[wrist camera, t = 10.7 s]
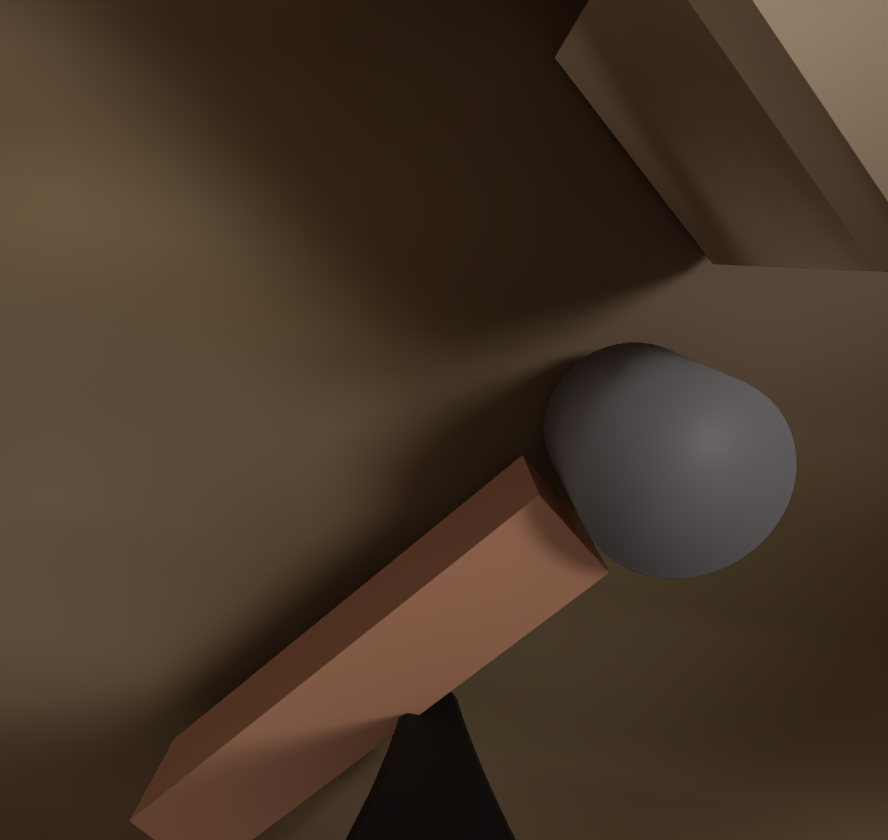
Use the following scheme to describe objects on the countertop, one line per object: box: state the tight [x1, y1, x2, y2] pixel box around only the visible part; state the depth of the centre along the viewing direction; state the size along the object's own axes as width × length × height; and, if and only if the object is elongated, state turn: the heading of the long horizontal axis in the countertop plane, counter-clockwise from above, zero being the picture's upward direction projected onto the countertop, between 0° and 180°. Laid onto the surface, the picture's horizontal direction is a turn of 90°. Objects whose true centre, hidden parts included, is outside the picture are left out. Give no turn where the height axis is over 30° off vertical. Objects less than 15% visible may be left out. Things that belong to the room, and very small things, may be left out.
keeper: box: [130, 343, 797, 840], centre depth 9 cm, size 11×3×2 cm, turn 131°
